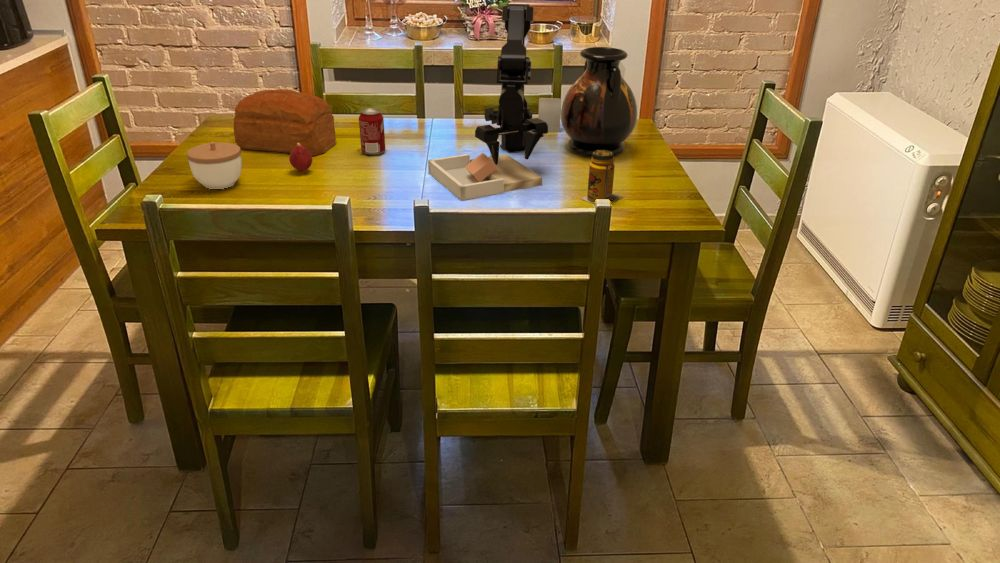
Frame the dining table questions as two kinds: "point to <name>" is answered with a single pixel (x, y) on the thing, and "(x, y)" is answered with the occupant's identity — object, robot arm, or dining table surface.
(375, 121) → the soda can
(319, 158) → the dining table surface
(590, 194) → the condiment
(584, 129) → the amphora vase
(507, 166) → the wooden board
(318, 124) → the bread
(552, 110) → the grey rectangular box
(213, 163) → the lidded bowl
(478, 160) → the block
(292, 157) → the onion
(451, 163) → the box
